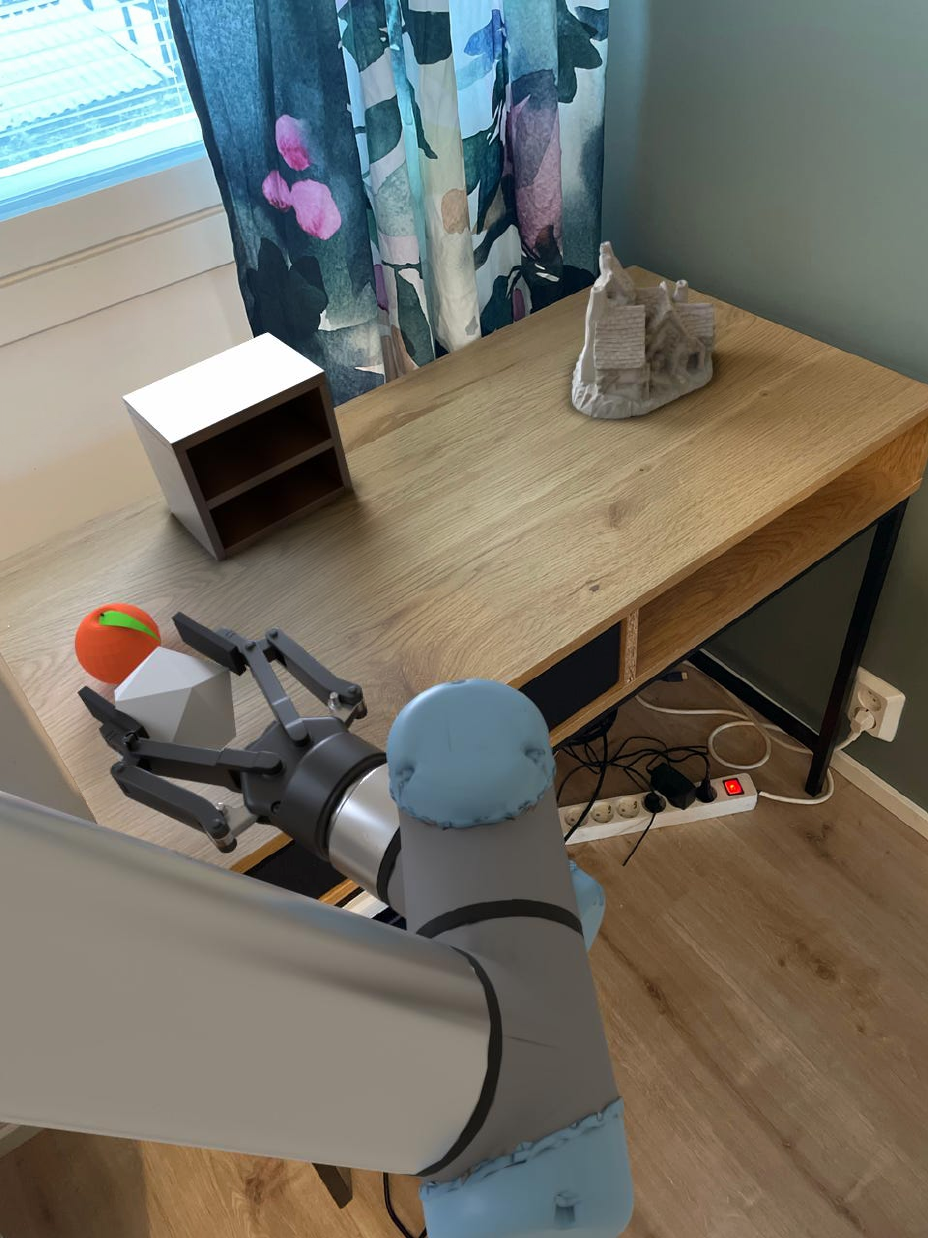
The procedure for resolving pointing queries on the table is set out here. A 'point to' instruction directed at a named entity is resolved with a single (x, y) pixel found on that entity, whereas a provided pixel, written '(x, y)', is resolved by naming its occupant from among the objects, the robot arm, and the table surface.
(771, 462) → the table surface
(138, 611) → the clementine
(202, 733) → the die
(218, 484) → the shelf
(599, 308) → the ceramic cottage
